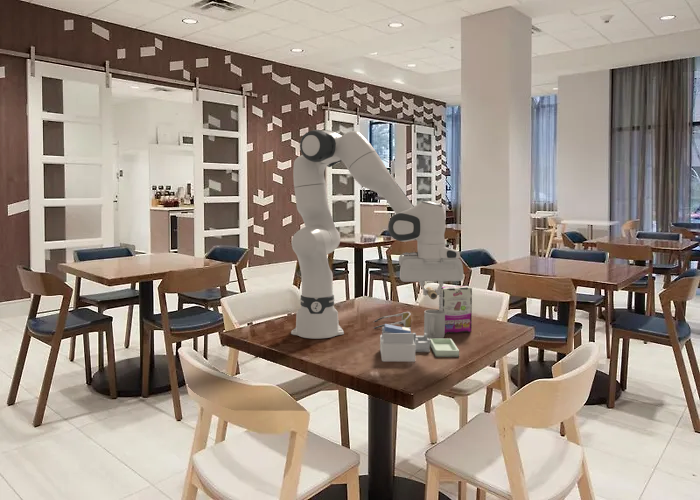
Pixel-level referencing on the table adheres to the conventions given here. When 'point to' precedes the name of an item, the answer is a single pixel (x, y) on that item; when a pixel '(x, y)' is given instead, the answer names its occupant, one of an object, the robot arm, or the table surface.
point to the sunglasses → (405, 319)
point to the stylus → (431, 293)
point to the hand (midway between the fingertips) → (431, 295)
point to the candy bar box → (456, 308)
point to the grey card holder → (397, 346)
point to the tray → (444, 347)
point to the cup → (434, 323)
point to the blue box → (396, 329)
